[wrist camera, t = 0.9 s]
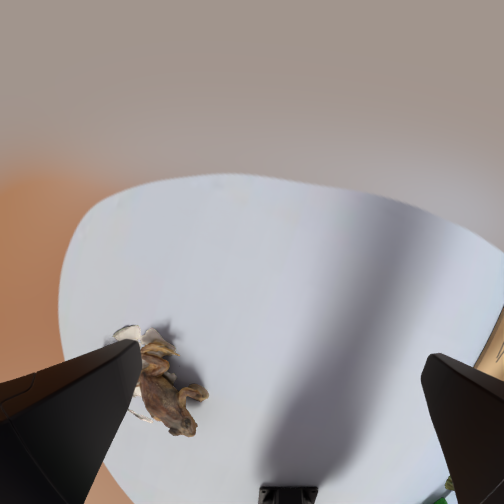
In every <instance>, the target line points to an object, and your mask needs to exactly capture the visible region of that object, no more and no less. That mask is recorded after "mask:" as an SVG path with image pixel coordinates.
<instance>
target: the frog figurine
mask: <svg viewBox="0 0 504 504" xmlns="http://www.w3.org/2000/svg"><path fill="white" fill-rule="evenodd" d="M113 337H115V338H116V339H117V340H118V341H121V340H123V339H131V340H136V341H138V339H140V341H141V343H139V344H140V348H141V344H145V347H142V349H141V357H142V371H141V374H140V377H139V379H138V382H137V385H136V388H135V391H134V393H133V396H132V397H135V396H140V397H142V399H143V402H144V404H145V407H146V409H147V411H148V412H149V413H150V415H151V417H152V418H154V419H155V420H157V421H162V422H163V423H164V425H165V426H167V427H168V428H170V430H169V433H170V434H172V435H173V436H178V435H185V436H187V437H193V436H194V435H195V433H196V427H198V425H197V423H195V420H194V419H193V417H192V416H191V415H190V413H189V412H188V410H187V409H186V396H189V397H191V398H194V399H195V400H198V401H200V402H202V401H203V400H205V399H207V398H208V397H209V393H208V391H207V390H206V389H205V388H204V387H202V386H200V385H198V384H190V385H189V386H188V387H185V388H182V389H181V390H180V391H178V390H177V389H175V388H174V387H173V385H174V381H175V380H176V379H177V377H176V374H175V373H173V374H171V373H169V372H168V369H169V367H170V365H169V362H168V361H167V360H164V359H163V358H162V357H163V356H172V355H174V354H175V355H177V356H180V355H179V354H177V353H176V348H175V347H174V346H173V345H171V344H169V343H167V342H166V341H165V340H164V339H163V338H162V337H161V335H160V334H159V333H158V332H157V331H156V330H155V329H154V328H150V329H149V330H147V331H146V334H145V335H142V336H141V335H140V327H139V326H138V325H133V326H129V327H126V328H122V329H121V330H119V331H118V332H116V333H115V334H114V335H113ZM179 367H180V366H179ZM128 411H129V412H131V413H132V414H134V415H135V416H136V417H138V418H139V419H141V420H144V421H147V422H149V423H153V421H152V420H151V419H149V418H147V417H145V416H142V415H139V414H136V413H135V412H134V411H132V410H129V409H128Z"/></svg>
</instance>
